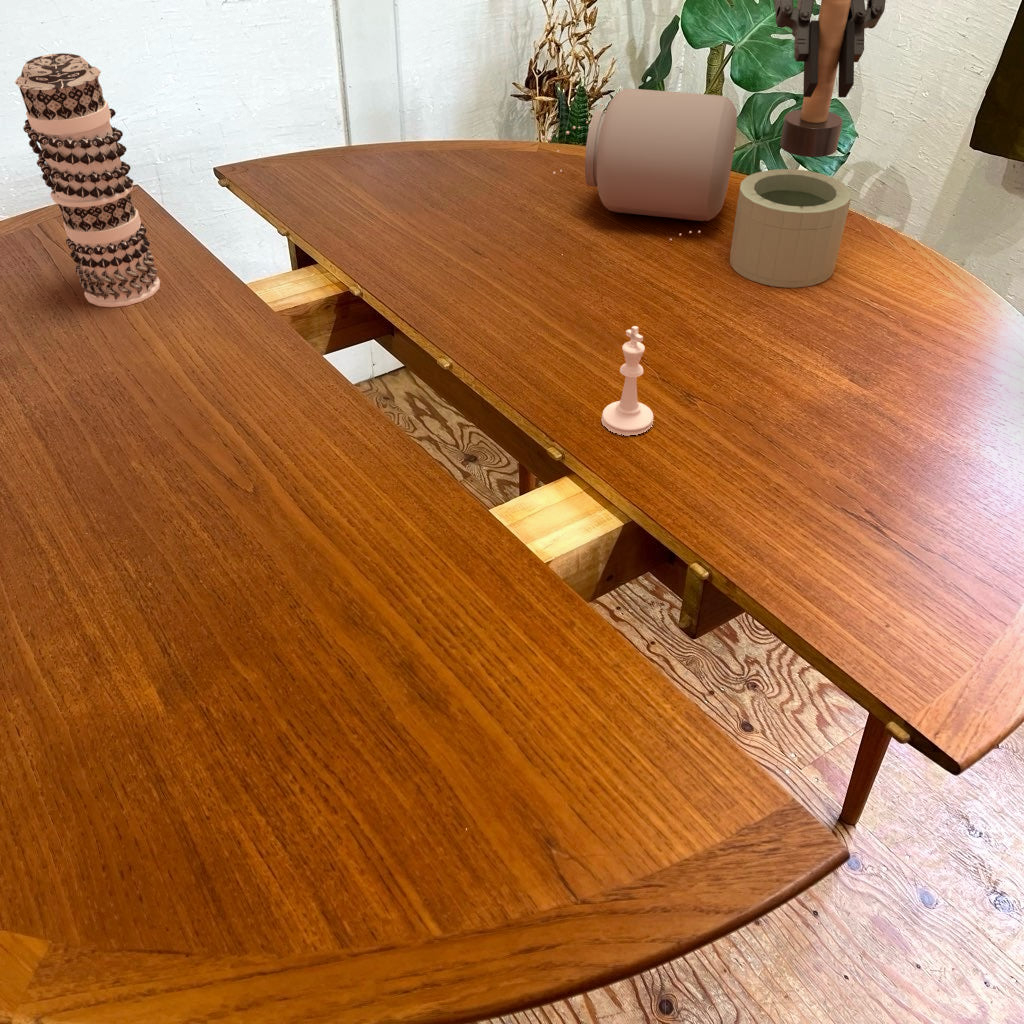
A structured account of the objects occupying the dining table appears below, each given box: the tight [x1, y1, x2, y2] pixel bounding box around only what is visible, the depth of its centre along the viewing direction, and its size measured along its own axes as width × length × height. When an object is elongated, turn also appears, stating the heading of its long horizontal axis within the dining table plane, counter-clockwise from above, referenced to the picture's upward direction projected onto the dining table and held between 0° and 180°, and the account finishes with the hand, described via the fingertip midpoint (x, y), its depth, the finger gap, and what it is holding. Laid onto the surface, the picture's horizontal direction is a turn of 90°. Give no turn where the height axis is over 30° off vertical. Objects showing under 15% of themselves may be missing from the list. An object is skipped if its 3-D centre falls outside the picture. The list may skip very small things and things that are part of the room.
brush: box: [779, 0, 851, 158], centre depth 98 cm, size 6×6×18 cm
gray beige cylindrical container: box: [729, 168, 852, 289], centre depth 111 cm, size 12×12×9 cm
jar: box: [541, 88, 738, 242], centre depth 122 cm, size 19×15×25 cm
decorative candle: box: [14, 52, 161, 308], centre depth 103 cm, size 9×9×25 cm
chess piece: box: [600, 325, 655, 437], centre depth 87 cm, size 5×5×10 cm
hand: (828, 90), depth 97 cm, fingers closed on brush, 3 cm apart
